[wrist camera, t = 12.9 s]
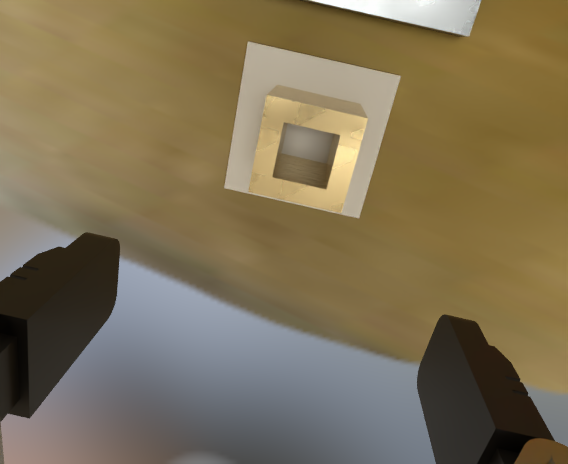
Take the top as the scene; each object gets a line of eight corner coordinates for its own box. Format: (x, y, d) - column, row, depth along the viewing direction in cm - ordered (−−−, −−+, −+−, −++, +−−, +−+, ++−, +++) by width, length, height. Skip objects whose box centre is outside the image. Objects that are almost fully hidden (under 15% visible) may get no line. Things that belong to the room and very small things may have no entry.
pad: (399, 75, 30) (400, 76, 29) (358, 214, 34) (358, 218, 33) (249, 41, 30) (247, 41, 29) (226, 184, 34) (224, 188, 33)
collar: (360, 104, 30) (368, 118, 25) (338, 183, 32) (341, 213, 27) (277, 84, 30) (266, 94, 25) (261, 165, 32) (248, 191, 27)
